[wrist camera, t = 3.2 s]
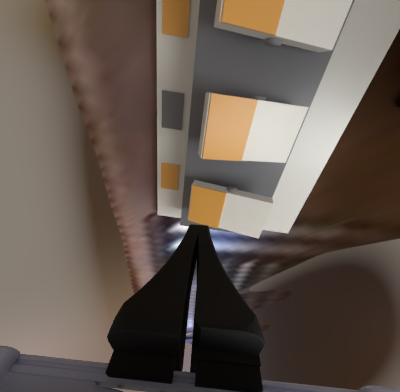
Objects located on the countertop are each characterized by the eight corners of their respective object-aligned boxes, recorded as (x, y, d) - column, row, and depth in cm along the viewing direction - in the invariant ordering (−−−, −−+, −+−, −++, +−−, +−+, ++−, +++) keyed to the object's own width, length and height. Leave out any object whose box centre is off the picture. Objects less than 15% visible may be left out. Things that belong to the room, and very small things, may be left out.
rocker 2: (299, 102, 12) (311, 104, 11) (276, 160, 15) (285, 165, 14) (205, 88, 11) (210, 88, 10) (197, 155, 13) (200, 161, 12)
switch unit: (448, -83, 11) (559, -165, 7) (285, 228, 24) (296, 250, 21) (160, -131, 10) (134, -239, 7) (159, 210, 24) (150, 230, 21)
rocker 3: (272, 195, 15) (274, 202, 14) (257, 232, 17) (257, 240, 16) (195, 177, 16) (191, 183, 15) (190, 214, 18) (187, 221, 17)
